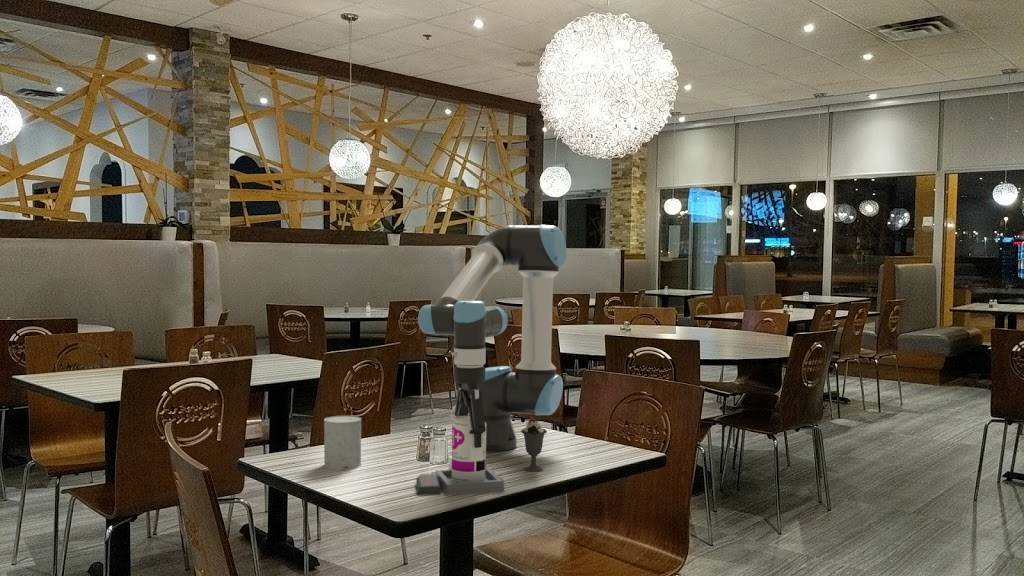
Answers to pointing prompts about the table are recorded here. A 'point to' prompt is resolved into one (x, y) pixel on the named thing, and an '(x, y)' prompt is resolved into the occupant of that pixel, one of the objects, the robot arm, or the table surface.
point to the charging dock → (452, 488)
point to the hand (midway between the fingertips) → (469, 454)
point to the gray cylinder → (342, 442)
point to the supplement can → (466, 453)
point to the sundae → (533, 442)
